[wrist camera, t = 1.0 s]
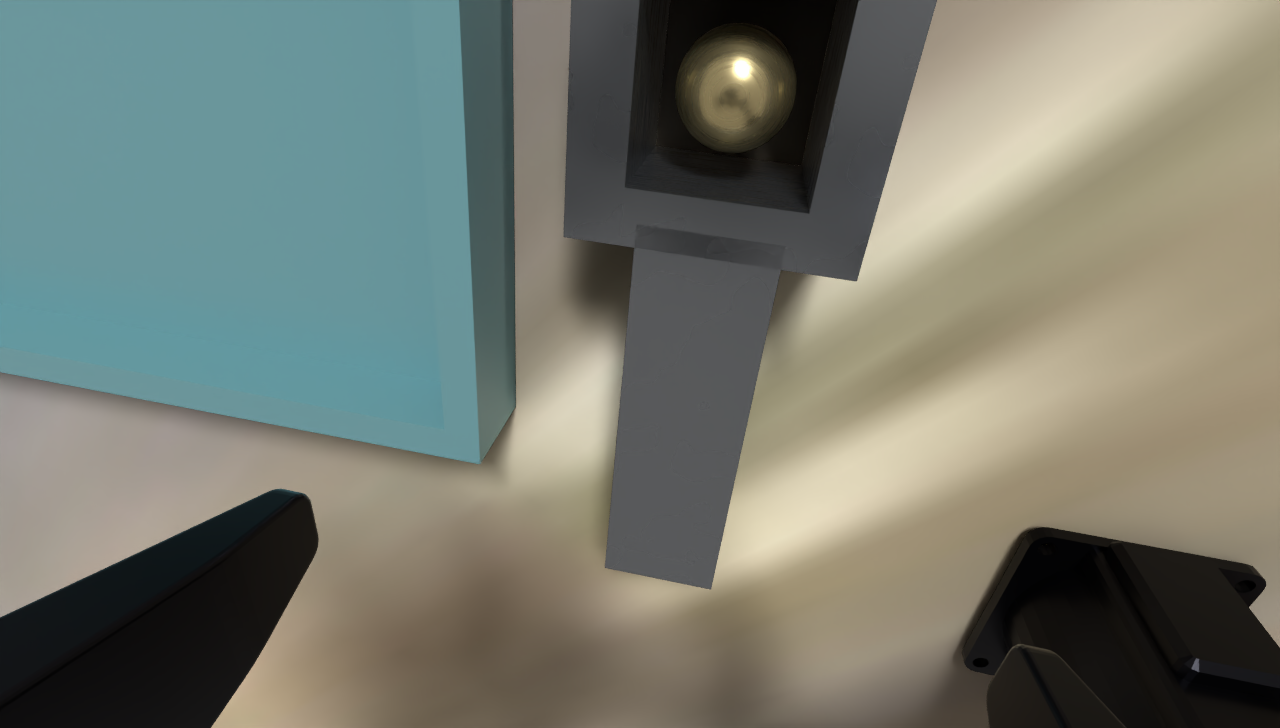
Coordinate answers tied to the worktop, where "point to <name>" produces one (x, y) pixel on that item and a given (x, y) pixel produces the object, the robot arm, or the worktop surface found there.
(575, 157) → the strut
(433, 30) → the bin
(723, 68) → the ball stud
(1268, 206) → the worktop surface
